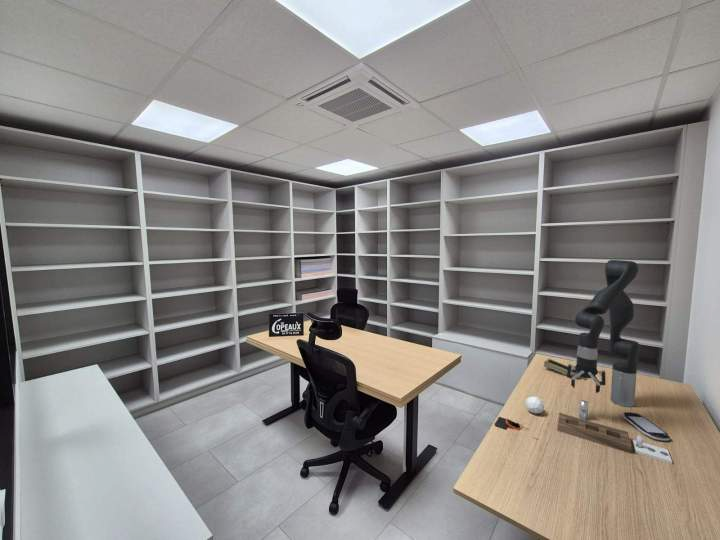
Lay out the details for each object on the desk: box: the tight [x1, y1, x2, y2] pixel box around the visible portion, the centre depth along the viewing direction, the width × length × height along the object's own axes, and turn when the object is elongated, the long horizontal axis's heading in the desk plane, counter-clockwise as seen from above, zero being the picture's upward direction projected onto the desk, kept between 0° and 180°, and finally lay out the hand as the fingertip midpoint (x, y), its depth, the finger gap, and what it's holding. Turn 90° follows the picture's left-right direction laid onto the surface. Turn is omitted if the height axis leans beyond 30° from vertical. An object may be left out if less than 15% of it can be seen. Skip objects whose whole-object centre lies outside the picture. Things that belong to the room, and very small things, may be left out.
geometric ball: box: [525, 395, 545, 415], centre depth 145 cm, size 8×8×8 cm
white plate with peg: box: [632, 435, 673, 465], centre depth 116 cm, size 8×10×5 cm
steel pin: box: [578, 399, 589, 421], centre depth 139 cm, size 3×3×8 cm
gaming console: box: [621, 411, 671, 442], centre depth 132 cm, size 19×9×2 cm, turn 170°
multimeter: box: [494, 416, 540, 440], centre depth 133 cm, size 18×12×3 cm, turn 46°
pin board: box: [557, 412, 632, 454], centre depth 128 cm, size 11×24×3 cm, turn 53°
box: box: [543, 358, 588, 381], centre depth 187 cm, size 8×22×5 cm, turn 42°
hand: (584, 389), depth 139 cm, fingers open, 8 cm apart
